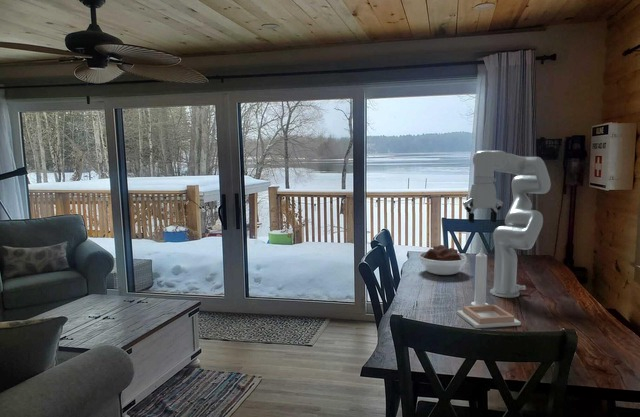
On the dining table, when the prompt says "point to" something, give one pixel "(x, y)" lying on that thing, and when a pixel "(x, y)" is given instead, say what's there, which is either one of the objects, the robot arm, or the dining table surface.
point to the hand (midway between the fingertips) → (482, 222)
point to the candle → (480, 279)
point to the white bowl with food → (442, 260)
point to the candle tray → (487, 316)
